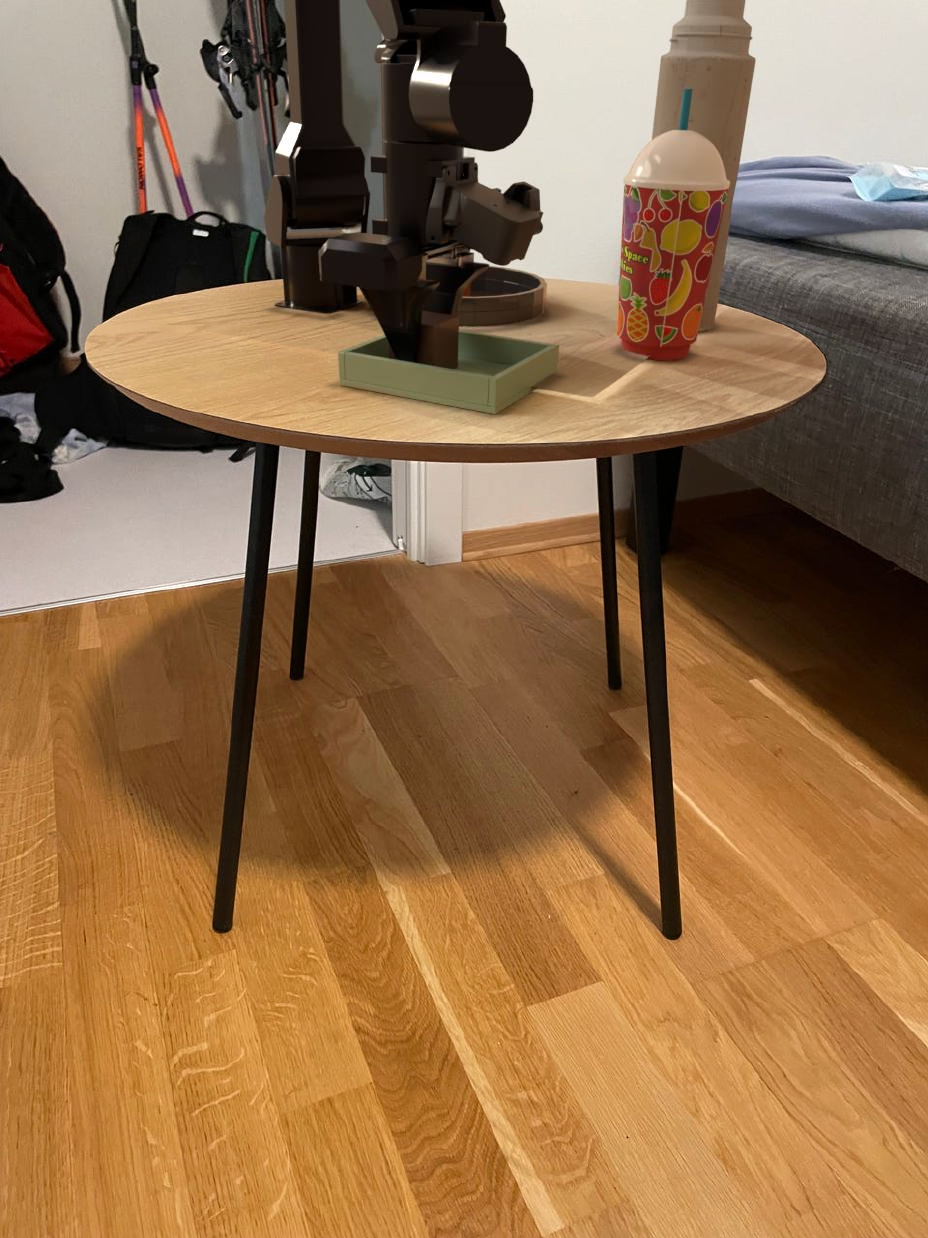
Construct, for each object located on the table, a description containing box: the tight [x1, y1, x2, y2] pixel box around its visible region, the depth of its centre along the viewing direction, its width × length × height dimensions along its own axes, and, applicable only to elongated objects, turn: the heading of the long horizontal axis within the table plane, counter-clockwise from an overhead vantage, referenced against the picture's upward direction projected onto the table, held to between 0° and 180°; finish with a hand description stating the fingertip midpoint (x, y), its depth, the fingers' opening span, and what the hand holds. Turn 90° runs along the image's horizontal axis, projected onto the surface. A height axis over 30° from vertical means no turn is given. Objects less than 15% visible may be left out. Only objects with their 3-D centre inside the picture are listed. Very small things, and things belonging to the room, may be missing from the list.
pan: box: [457, 265, 548, 327], centre depth 93 cm, size 17×17×3 cm
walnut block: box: [389, 311, 460, 369], centre depth 72 cm, size 4×4×4 cm
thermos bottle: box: [651, 0, 757, 333], centre depth 84 cm, size 8×8×28 cm
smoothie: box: [616, 89, 730, 362], centre depth 76 cm, size 8×8×20 cm
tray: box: [337, 329, 560, 415], centre depth 72 cm, size 13×11×2 cm
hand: (422, 364), depth 73 cm, fingers closed on walnut block, 4 cm apart
